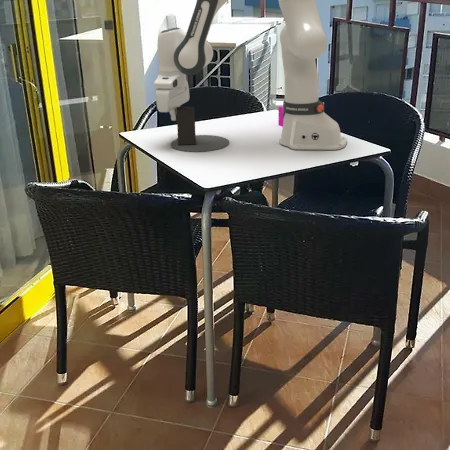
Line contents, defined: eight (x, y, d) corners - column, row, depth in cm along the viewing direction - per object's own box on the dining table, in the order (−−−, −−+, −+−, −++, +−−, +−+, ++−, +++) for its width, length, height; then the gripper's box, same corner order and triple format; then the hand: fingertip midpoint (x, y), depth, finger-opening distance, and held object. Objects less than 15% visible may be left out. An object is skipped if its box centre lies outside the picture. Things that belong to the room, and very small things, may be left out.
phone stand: (195, 145, 214) (194, 109, 210) (177, 145, 214) (176, 110, 210) (195, 138, 223) (194, 104, 218) (178, 138, 222) (176, 104, 218)
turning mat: (236, 138, 223) (236, 136, 223) (218, 153, 206) (218, 152, 206) (183, 135, 229) (183, 133, 229) (161, 149, 212) (161, 148, 212)
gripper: (175, 73, 222) (178, 112, 227) (151, 84, 204) (154, 126, 209) (192, 73, 220) (194, 113, 225) (169, 84, 202) (172, 127, 208)
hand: (175, 119), depth 217 cm, fingers closed
